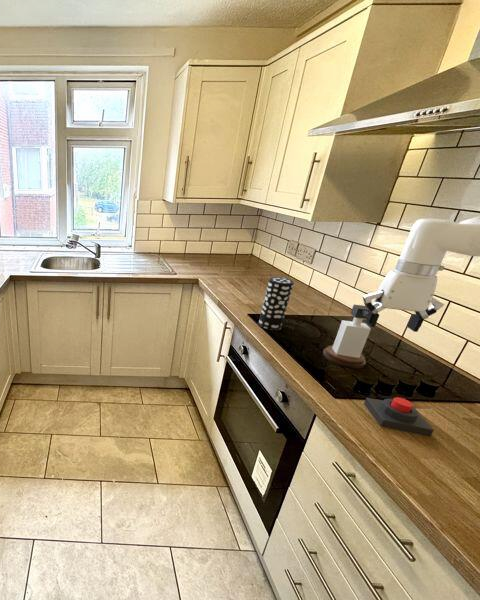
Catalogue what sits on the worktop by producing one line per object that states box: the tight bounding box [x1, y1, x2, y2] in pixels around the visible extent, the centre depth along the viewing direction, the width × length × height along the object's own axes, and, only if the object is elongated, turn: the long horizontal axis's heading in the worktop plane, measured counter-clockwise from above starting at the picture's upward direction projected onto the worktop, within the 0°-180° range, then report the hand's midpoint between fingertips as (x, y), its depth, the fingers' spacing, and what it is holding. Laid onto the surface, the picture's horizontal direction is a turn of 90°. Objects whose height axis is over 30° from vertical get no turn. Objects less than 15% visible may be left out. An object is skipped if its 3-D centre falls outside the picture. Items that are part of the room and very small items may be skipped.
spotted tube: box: [257, 276, 295, 331], centre depth 128 cm, size 8×8×20 cm
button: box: [391, 396, 414, 413], centre depth 81 cm, size 4×4×2 cm
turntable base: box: [322, 347, 367, 369], centre depth 109 cm, size 12×12×1 cm
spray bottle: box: [325, 304, 372, 363], centre depth 105 cm, size 10×10×18 cm
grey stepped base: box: [363, 397, 435, 437], centre depth 82 cm, size 10×9×4 cm
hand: (390, 327), depth 88 cm, fingers open, 9 cm apart
